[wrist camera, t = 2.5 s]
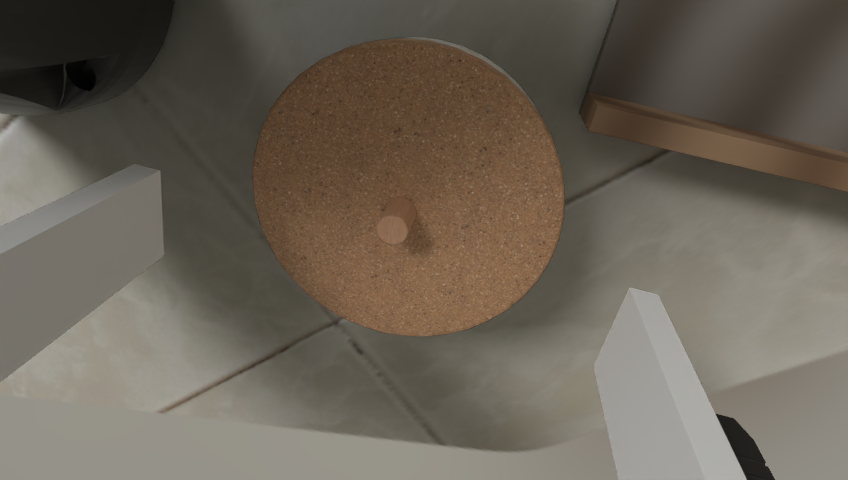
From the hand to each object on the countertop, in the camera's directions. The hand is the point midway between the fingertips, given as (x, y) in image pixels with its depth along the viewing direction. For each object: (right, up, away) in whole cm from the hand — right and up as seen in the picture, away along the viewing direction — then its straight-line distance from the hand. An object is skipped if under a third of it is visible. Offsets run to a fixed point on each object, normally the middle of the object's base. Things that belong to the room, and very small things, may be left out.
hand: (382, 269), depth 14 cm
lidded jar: (+2, +5, +10) cm, 12 cm away
